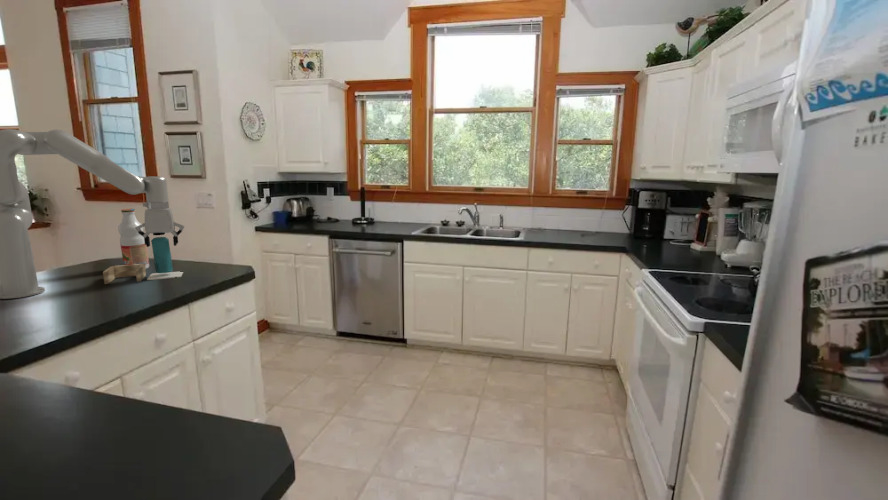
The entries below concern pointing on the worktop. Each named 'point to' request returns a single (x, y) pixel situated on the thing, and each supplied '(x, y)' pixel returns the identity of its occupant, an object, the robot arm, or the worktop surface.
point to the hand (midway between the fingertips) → (162, 245)
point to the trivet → (164, 275)
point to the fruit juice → (132, 240)
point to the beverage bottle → (162, 254)
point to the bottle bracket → (124, 272)
